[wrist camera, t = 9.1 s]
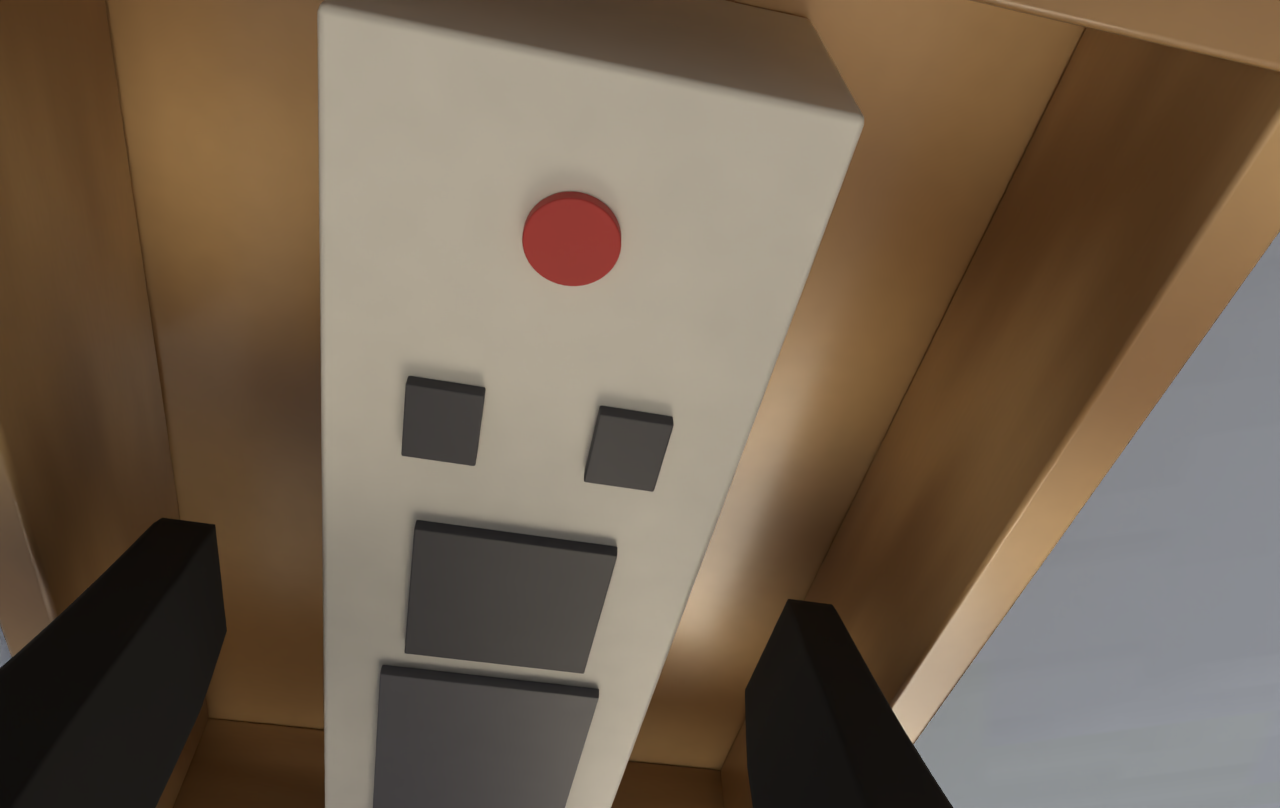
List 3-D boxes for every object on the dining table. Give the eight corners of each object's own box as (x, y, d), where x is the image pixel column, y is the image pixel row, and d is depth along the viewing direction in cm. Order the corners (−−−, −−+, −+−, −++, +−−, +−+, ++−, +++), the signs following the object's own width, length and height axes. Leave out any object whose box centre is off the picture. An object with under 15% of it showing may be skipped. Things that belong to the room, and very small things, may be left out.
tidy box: (739, 767, 21) (760, 961, 17) (186, 710, 19) (99, 914, 16) (1185, -96, 10) (1443, 5, 7) (-2, -399, 8) (-388, -452, 5)
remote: (593, 721, 19) (588, 880, 16) (363, 696, 18) (320, 859, 15) (811, 17, 10) (874, 125, 8) (391, -76, 9) (309, 8, 7)
